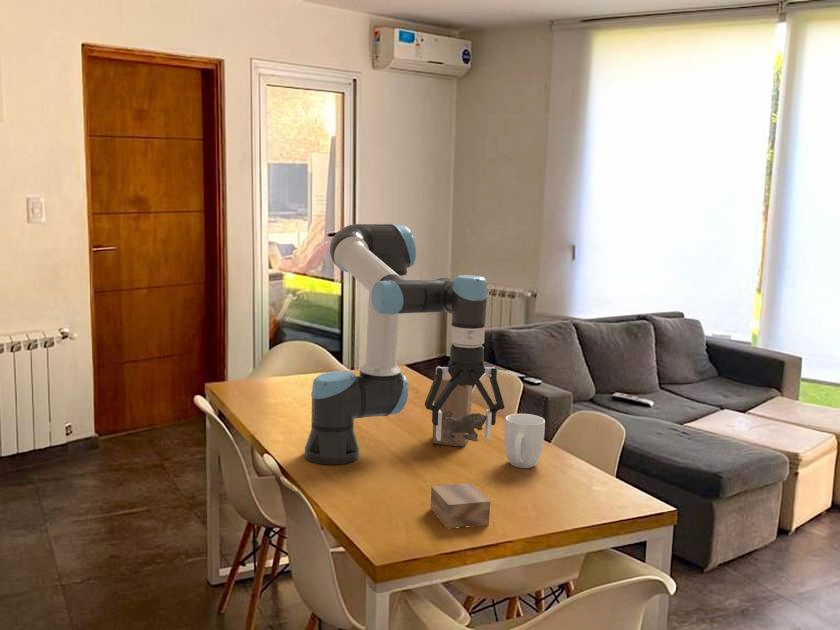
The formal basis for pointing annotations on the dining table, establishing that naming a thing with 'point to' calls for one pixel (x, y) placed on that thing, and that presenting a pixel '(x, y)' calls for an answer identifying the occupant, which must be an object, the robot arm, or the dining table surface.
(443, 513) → the walnut block
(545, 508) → the dining table surface
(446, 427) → the grey animal figure
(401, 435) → the dining table surface
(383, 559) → the dining table surface
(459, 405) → the wooden block
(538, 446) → the mug
